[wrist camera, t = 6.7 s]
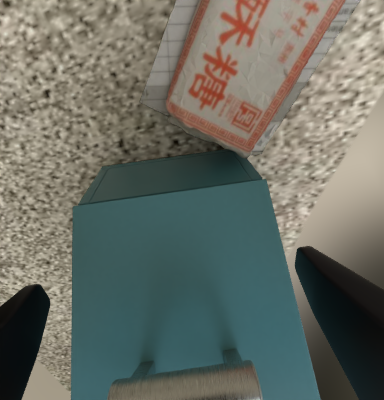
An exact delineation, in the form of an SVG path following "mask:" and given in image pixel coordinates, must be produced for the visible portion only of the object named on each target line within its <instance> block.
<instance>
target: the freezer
mask: <svg viewBox="0 0 384 400" xmlns="http://www.w3.org/2000/svg"><path fill="white" fill-rule="evenodd" d="M257 180H262V177H261V176H260V175H259V173H258V172H257V171H256V170H255V168H254V167H253V166H252V165H251V163H250V162H249V161H248V160H247V159H246V158H242V157H240V156H239V155H237V153H236V152H234V151H232V150H229V149H225V150H218V151H210V152H203V153H196V154H189V155H182V156H175V157H168V158H160V159H153V160H146V161H139V162H132V163H125V164H117V165H110V166H103V167H102V168H101V170H100V171H99V173H98V174H97V176H96V177H95V179H94V181H93V182H92V184H91V185H90V187H89V188H88V190H87V191H86V193H85V194H84V196H83V198H82V199H81V201H80V202H79V204H78V205H79V206H80V205H87V204H94V203H101V202H108V201H115V200H122V199H129V198H136V197H143V196H150V195H157V194H165V193H172V192H179V191H186V190H193V189H200V188H207V187H214V186H221V185H228V184H235V183H243V182H250V181H257Z"/></svg>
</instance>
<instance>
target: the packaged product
mask: <svg viewBox="0 0 384 400" xmlns="http://www.w3.org/2000/svg"><path fill="white" fill-rule="evenodd" d="M359 2H360V0H176V2H175V5H174V8H173V10H172V12H171V14H170V17H169V20H168V23H167V25H166V28H165V31H164V34H163V37H162V40H161V43H160V46H159V49H158V52H157V55H156V58H155V61H154V64H153V66H152V69H151V73H150V76H149V79H148V81H147V84H146V86H145V89H144V91H143V94H142V97H141V100H140V103H141V104H144V105H146V106H148V107H150V108H152V109H154V110H156V111H158V112H160V113H162V114H164V115H166V116H168V119H167V121H169V122H170V123H171V124H173V125H177V126H179V127H181V128H182V129H183V130H184V131H185V132H186V133H187V134H189V135H192V136H195V137H197V138H200V139H203V140H205V141H208V142H215V143H217V144H219V145H221V146H222V147H224V148H225V149H229V150H232V151H234V152H236V153H237V155H239V156H240V157H242V158H246V159H247V158H248V157H249V156H250V155H257V154H262V152H263V150H264V148H265V146H266V144H267V143H268V142H269V140H270V139H271V138H272V136H273V134H274V132H275V131H276V129H277V128H278V127H279V125H280V124H281V122H282V120H283V119H284V117H285V116H286V114H287V113H288V111H289V109H290V108H291V106H292V105H293V103H294V102H295V100H296V99H297V97H298V95H299V94H300V92H301V90H302V89H303V88H304V87H305V85H306V83H307V81H308V80H309V78H310V77H311V76H312V74H313V72H314V71H315V69H316V68H317V66H318V65H319V63H320V62H321V61H322V59H323V58H324V56H325V55H326V53H327V52H328V50H329V48H330V47H331V45H332V43H333V41H334V40H335V38H336V37H337V36H338V34H339V33H340V31H341V30H342V28H343V27H344V25H345V24H346V22H347V20H348V19H349V17H350V16H351V14H352V13H353V11H354V9H355V8H356V6H357V5H358V3H359Z"/></svg>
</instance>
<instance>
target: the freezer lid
mask: <svg viewBox="0 0 384 400" xmlns="http://www.w3.org/2000/svg"><path fill="white" fill-rule="evenodd" d="M71 400H320V396H319V392H318V387H317V384H316V380H315V376H314V371H313V367H312V363H311V359H310V355H309V351H308V347H307V343H306V339H305V335H304V331H303V327H302V322H301V319H300V314H299V310H298V306H297V302H296V299H295V294H294V290H293V286H292V282H291V278H290V274H289V270H288V266H287V262H286V258H285V254H284V250H283V245H282V241H281V237H280V233H279V229H278V225H277V221H276V217H275V213H274V209H273V205H272V201H271V197H270V193H269V189H268V185H267V181H266V179H264V180H257V181H250V182H243V183H235V184H228V185H221V186H214V187H207V188H200V189H193V190H186V191H179V192H172V193H165V194H157V195H150V196H143V197H136V198H129V199H122V200H115V201H108V202H101V203H94V204H87V205H80V206H73V234H72V341H71Z"/></svg>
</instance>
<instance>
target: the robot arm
mask: <svg viewBox="0 0 384 400" xmlns="http://www.w3.org/2000/svg"><path fill="white" fill-rule="evenodd" d="M295 269H296V272H297V275H298V277H299V280H300V282H301V285H302V287H303V289H304V292H305V294H306V297H307V299H308V302H309V304H310V306H311V309H312V311H313V313H314V316H315V318H316V319H317V321H318V323H319V325H320V327H321V329H322V331H323V333H324V335H325V336H326V338H327V340H328V342H329V344H330V346H331V348H332V350H333V351H334V353H335V355H336V357H337V359H338V361H339V363H340V364H341V366H342V368H343V370H344V372H345V374H346V376H347V378H348V380H349V381H350V383H351V385H352V387H353V389H354V391H355V393H356V395H357V396H358V398H359V400H384V290H383V289H382V288H380V287H378V286H377V285H375V284H373V283H371V282H370V281H368V280H366V279H365V278H363V277H362V276H360V275H358V274H356V273H355V272H353V271H351V270H350V269H348V268H346V267H344V266H343V265H341V264H339V263H338V262H336V261H335V260H333V259H331V258H329V257H328V256H326V255H324V254H323V253H321V252H319V251H318V250H316V249H314V248H313V247H310V246H306V247H300V248H298V249H297V253H296V260H295ZM49 308H50V299H49V297H48V295H47V294H46V292H45V291H44V289H43V288H42V286H41V285H39V284H34V285H28V286H25V287H24V288H23V289H21V290H20V291H19V292H18V293H16V294H15V295H14V296H13V297H11V298H10V299H9V300H8V301H7V302H5V303H4V304H3V305H2V306H0V400H21V399H22V397H23V394H24V391H25V388H26V386H27V383H28V380H29V377H30V374H31V371H32V369H33V366H34V363H35V360H36V357H37V354H38V351H39V348H40V344H41V340H42V336H43V332H44V328H45V324H46V320H47V316H48V312H49Z"/></svg>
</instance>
